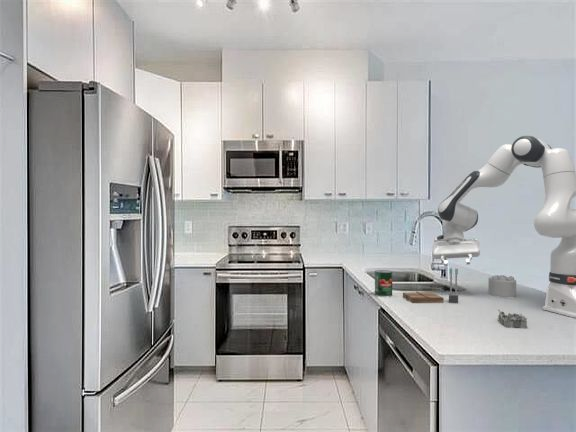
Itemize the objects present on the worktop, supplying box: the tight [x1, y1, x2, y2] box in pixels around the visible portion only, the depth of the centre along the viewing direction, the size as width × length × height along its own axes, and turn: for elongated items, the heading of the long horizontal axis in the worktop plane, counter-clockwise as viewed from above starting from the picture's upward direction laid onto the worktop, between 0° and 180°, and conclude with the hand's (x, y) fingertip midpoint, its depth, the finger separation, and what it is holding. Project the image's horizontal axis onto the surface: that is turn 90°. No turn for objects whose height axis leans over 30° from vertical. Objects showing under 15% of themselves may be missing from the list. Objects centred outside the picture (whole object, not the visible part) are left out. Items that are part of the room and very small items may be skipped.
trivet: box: [402, 291, 444, 304], centre depth 191 cm, size 13×13×2 cm
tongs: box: [448, 267, 459, 304], centre depth 186 cm, size 3×4×14 cm
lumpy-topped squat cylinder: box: [487, 274, 517, 298], centre depth 203 cm, size 10×13×9 cm
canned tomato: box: [374, 269, 393, 297], centre depth 202 cm, size 8×8×11 cm
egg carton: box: [497, 309, 529, 329], centre depth 150 cm, size 11×8×4 cm
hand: (457, 264), depth 197 cm, fingers open, 8 cm apart
